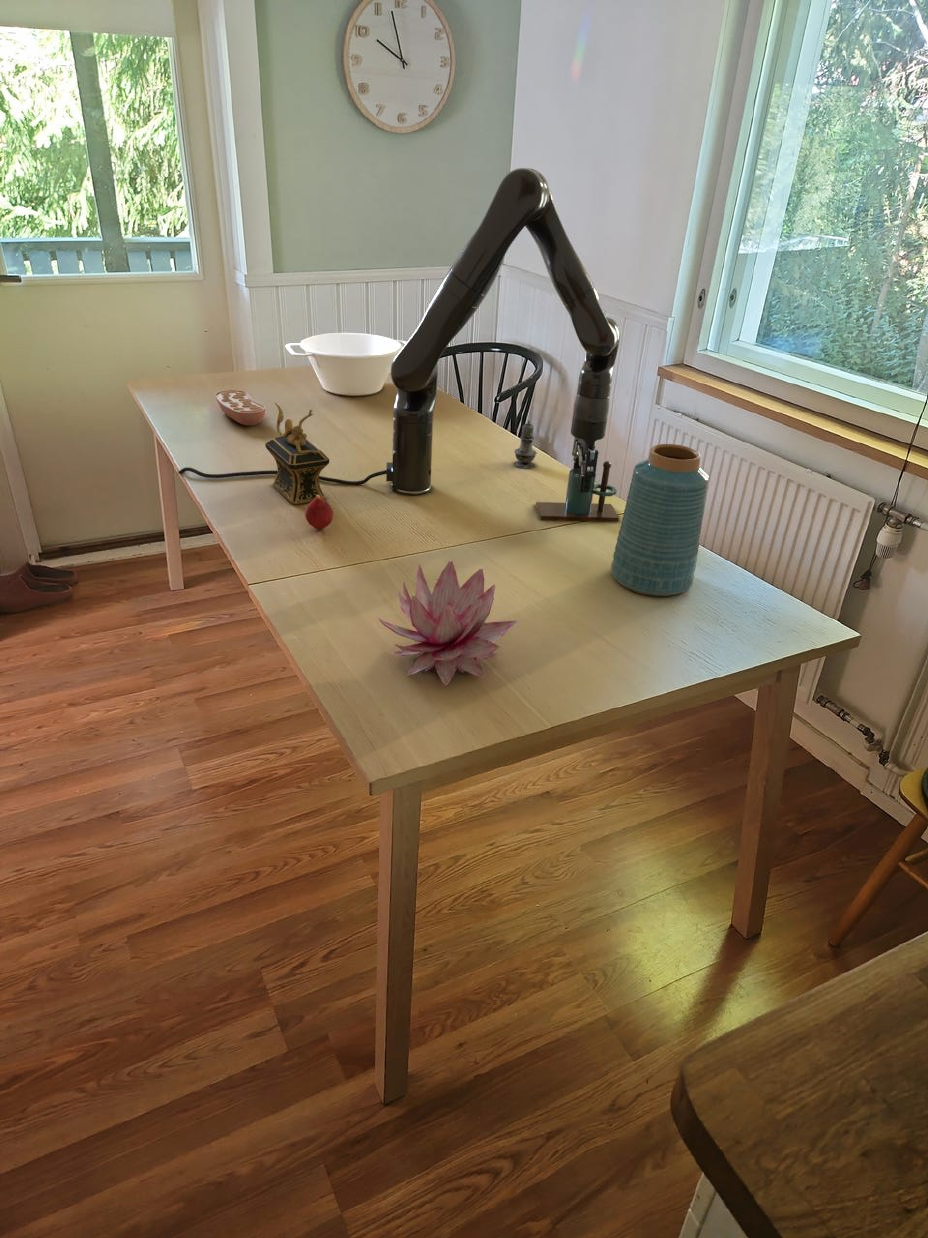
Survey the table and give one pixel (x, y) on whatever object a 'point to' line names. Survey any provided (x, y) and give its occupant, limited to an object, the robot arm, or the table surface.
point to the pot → (350, 361)
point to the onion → (319, 513)
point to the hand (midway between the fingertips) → (580, 484)
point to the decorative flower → (449, 624)
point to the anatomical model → (240, 407)
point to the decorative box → (296, 462)
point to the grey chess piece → (525, 448)
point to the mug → (582, 493)
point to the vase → (662, 522)
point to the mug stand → (596, 514)
